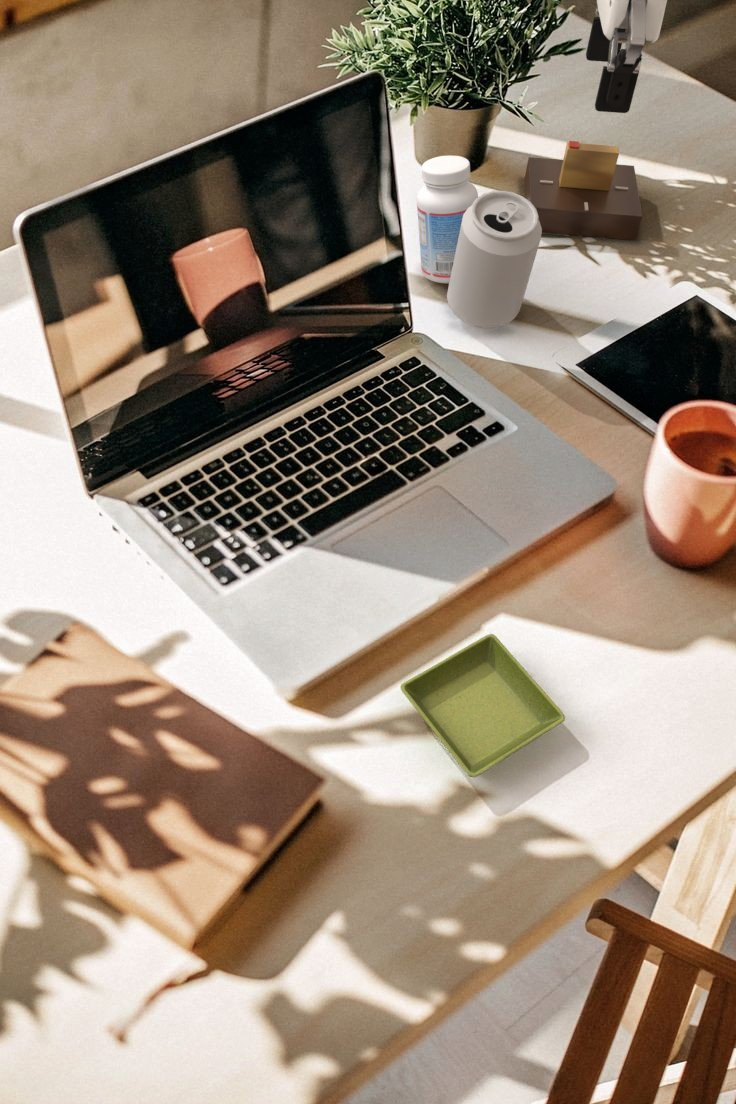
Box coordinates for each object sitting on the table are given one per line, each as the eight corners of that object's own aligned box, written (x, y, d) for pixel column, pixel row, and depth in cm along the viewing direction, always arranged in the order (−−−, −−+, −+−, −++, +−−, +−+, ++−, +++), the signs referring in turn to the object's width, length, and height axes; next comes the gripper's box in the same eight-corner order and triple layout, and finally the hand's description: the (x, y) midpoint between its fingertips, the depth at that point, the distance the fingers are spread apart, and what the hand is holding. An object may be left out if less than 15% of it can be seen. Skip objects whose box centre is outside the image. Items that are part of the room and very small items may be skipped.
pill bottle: (491, 266, 107) (490, 158, 100) (457, 291, 104) (454, 181, 96) (443, 253, 110) (438, 148, 103) (409, 277, 107) (402, 170, 99)
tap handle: (608, 183, 114) (618, 144, 111) (609, 191, 113) (619, 151, 110) (558, 179, 114) (567, 139, 111) (559, 186, 113) (568, 146, 110)
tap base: (627, 189, 119) (634, 164, 117) (635, 240, 113) (642, 215, 111) (524, 180, 119) (528, 155, 117) (526, 231, 113) (531, 205, 111)
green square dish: (562, 732, 75) (568, 718, 73) (468, 792, 71) (471, 779, 70) (488, 646, 79) (492, 631, 77) (395, 700, 76) (397, 685, 74)
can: (430, 308, 103) (448, 213, 93) (472, 267, 106) (493, 172, 96) (492, 345, 101) (517, 253, 91) (533, 303, 105) (561, 209, 94)
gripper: (714, -70, 81) (656, 134, 94) (682, -149, 92) (634, 45, 105) (618, -77, 81) (574, 129, 94) (598, -155, 92) (561, 39, 105)
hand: (606, 84), depth 100 cm, fingers open, 9 cm apart
